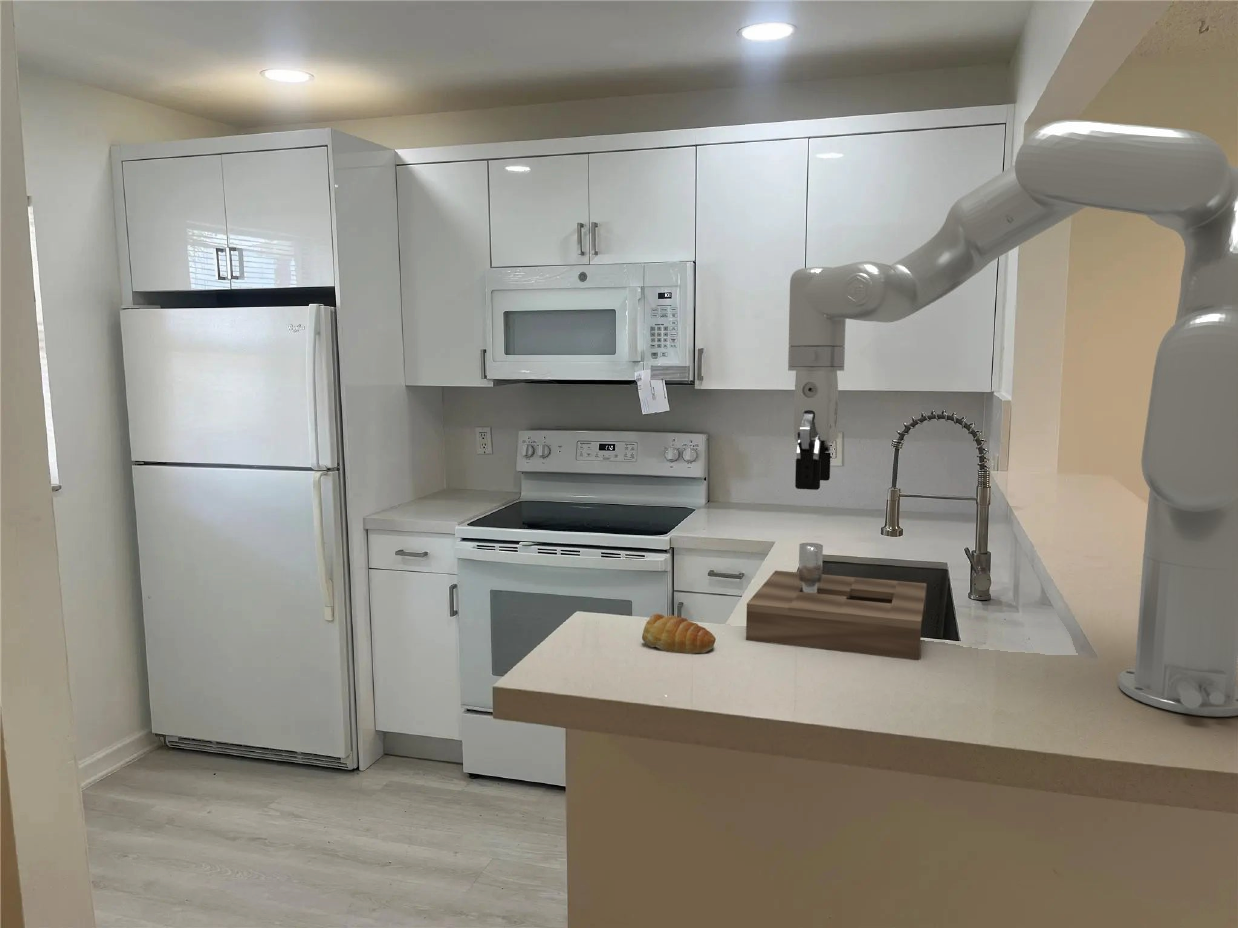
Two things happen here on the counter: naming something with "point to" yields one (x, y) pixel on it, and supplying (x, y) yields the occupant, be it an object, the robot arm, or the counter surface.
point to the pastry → (677, 635)
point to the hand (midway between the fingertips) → (813, 484)
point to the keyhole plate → (839, 614)
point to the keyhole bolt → (810, 566)
